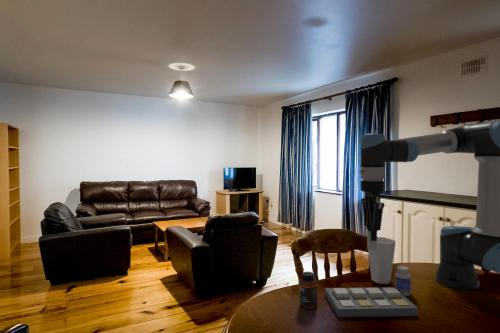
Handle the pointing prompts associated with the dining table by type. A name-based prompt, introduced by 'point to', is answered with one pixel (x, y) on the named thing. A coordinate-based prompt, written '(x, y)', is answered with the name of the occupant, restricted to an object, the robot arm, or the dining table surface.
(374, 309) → the board
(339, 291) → the button
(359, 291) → the button
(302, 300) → the supplement bottle
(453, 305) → the dining table surface
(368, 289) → the button
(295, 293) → the dining table surface
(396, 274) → the pill bottle
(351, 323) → the dining table surface
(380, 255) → the cup
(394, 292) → the button
